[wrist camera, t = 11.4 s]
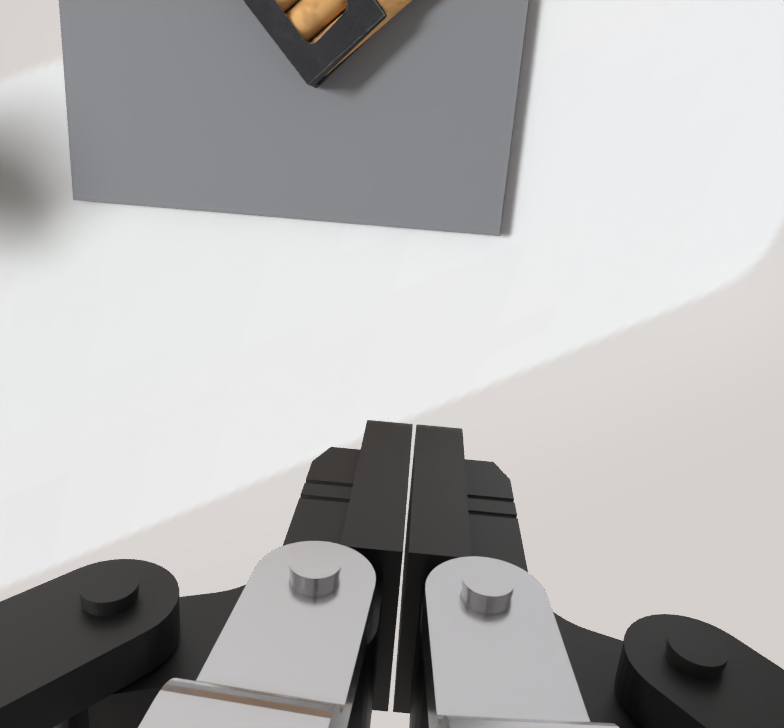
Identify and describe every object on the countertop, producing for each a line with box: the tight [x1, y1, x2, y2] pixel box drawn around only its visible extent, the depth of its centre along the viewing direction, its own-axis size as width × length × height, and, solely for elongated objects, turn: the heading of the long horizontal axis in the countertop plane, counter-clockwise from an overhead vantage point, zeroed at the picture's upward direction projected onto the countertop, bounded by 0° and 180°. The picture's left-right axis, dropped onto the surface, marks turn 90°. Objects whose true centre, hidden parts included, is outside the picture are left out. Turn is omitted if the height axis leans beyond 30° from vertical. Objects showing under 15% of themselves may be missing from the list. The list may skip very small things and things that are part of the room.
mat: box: [59, 0, 529, 236], centre depth 38 cm, size 24×18×1 cm
